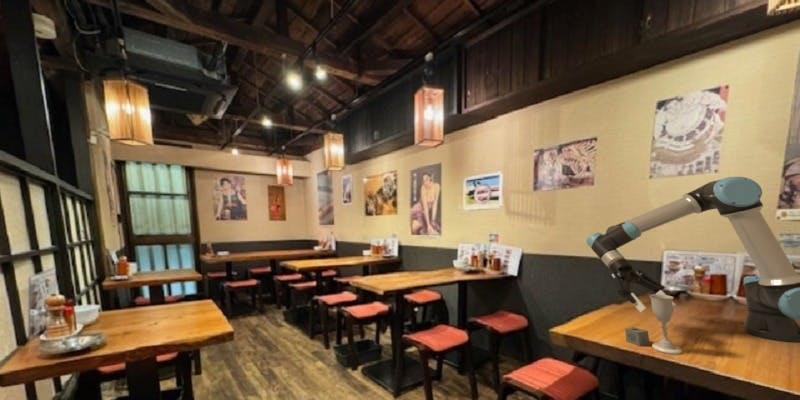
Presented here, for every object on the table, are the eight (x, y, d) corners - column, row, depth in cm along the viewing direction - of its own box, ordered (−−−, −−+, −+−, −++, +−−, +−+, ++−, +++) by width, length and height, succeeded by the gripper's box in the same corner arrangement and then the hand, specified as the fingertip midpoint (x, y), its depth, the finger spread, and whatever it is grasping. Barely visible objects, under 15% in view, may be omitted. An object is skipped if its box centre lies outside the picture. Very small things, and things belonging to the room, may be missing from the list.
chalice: (672, 352, 103) (666, 299, 104) (649, 345, 109) (644, 295, 110) (683, 348, 105) (677, 297, 107) (660, 341, 112) (655, 293, 113)
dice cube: (635, 340, 117) (634, 327, 118) (649, 344, 112) (648, 331, 113) (626, 341, 116) (625, 328, 116) (639, 346, 111) (638, 332, 112)
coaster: (676, 347, 109) (675, 344, 109) (686, 356, 102) (686, 353, 102) (649, 344, 112) (648, 341, 112) (657, 352, 105) (656, 350, 105)
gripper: (635, 267, 130) (677, 311, 114) (587, 270, 125) (624, 317, 109) (646, 256, 126) (691, 300, 110) (596, 259, 121) (637, 306, 104)
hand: (658, 308), depth 109 cm, fingers open, 13 cm apart
